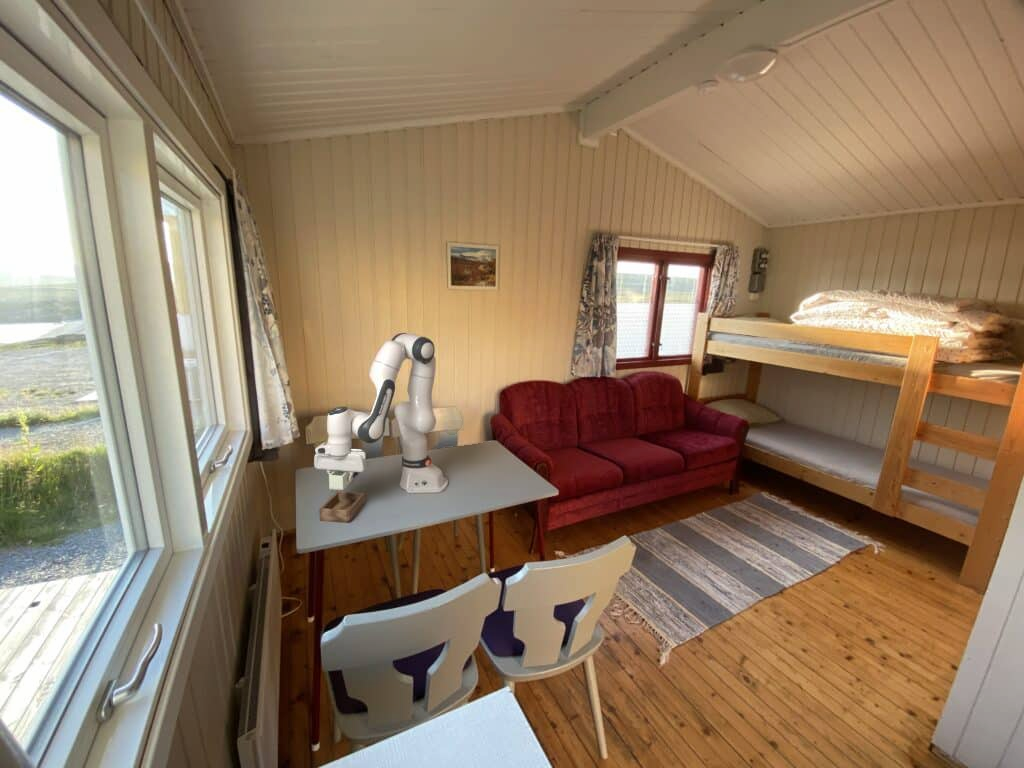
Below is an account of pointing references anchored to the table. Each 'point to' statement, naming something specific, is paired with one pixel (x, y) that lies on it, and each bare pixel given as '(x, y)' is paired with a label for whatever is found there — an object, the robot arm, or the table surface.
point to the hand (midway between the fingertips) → (341, 479)
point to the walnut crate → (342, 507)
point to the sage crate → (339, 480)
